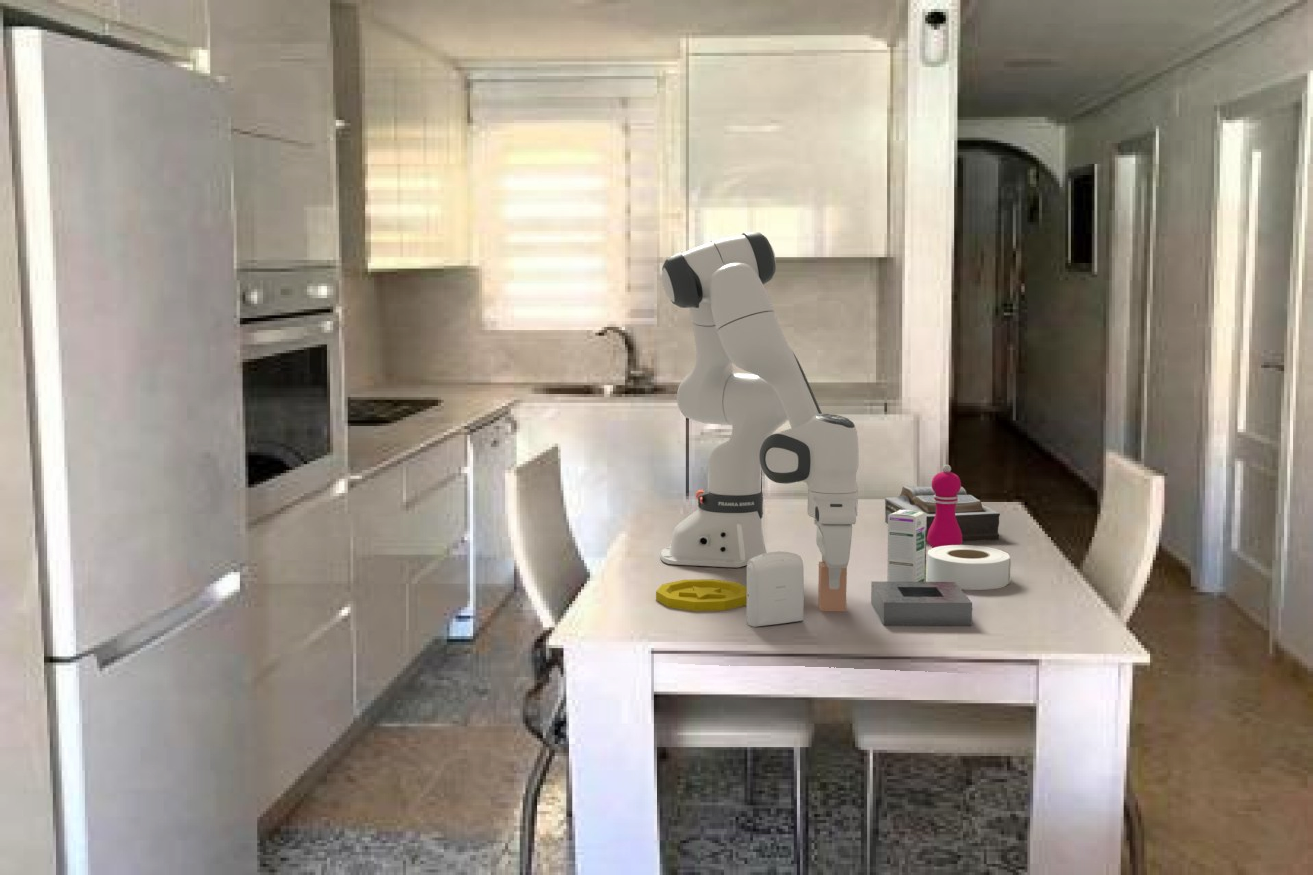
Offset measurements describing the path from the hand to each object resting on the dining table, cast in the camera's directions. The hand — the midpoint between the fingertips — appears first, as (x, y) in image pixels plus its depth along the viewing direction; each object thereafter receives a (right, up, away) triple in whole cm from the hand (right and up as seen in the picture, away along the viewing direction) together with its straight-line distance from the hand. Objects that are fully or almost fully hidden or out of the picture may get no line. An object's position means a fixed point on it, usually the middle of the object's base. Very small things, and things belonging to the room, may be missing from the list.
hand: (830, 581), depth 237 cm
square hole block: (+15, -5, -3) cm, 16 cm away
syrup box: (+17, -3, +16) cm, 23 cm away
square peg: (0, -5, +1) cm, 5 cm away
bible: (+35, +4, +70) cm, 78 cm away
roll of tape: (+30, -2, +22) cm, 37 cm away
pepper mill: (+29, 0, +40) cm, 49 cm away
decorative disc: (-23, -4, +7) cm, 24 cm away
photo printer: (-11, -6, -9) cm, 15 cm away
